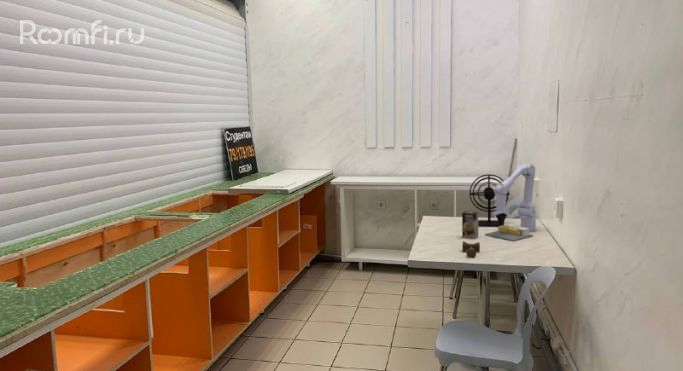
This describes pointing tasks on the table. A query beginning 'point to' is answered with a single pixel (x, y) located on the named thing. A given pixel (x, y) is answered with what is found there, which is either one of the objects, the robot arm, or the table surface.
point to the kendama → (471, 248)
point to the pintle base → (511, 236)
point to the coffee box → (470, 224)
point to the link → (509, 230)
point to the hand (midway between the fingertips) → (501, 225)
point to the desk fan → (489, 196)
